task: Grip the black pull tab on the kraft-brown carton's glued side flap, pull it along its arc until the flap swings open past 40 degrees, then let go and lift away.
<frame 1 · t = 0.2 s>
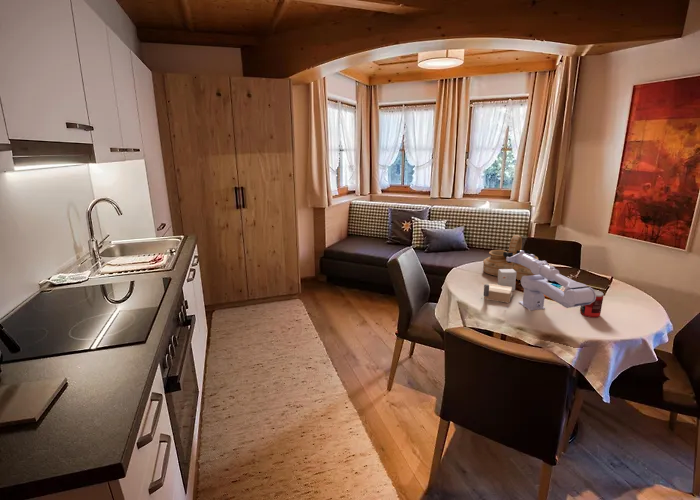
hand: (510, 252, 191), 21 cm above the table, tool horizontal, fingers open, 7 cm apart
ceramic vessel: (511, 275, 219), on the table
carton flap: (496, 293, 181), point 5 cm above the table, hinge at 0.0°
carton: (497, 297, 189), on the table
small box: (505, 288, 200), on the table
canned food: (589, 314, 167), on the table
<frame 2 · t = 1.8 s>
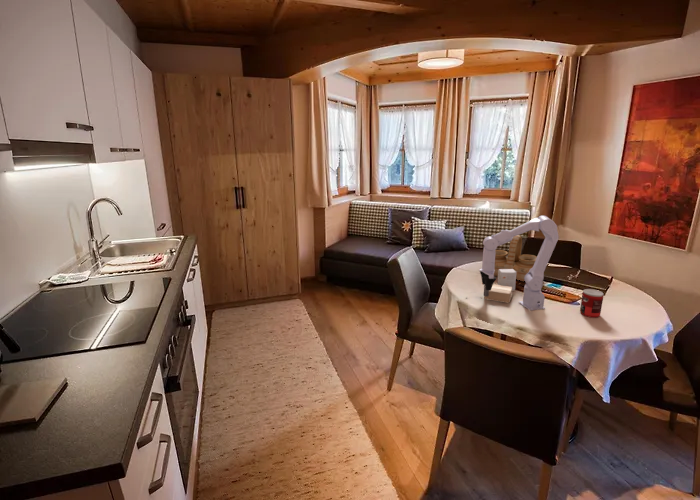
hand: (486, 287, 181), 8 cm above the table, tool pointing down, fingers open, 7 cm apart
nothing on the table moved.
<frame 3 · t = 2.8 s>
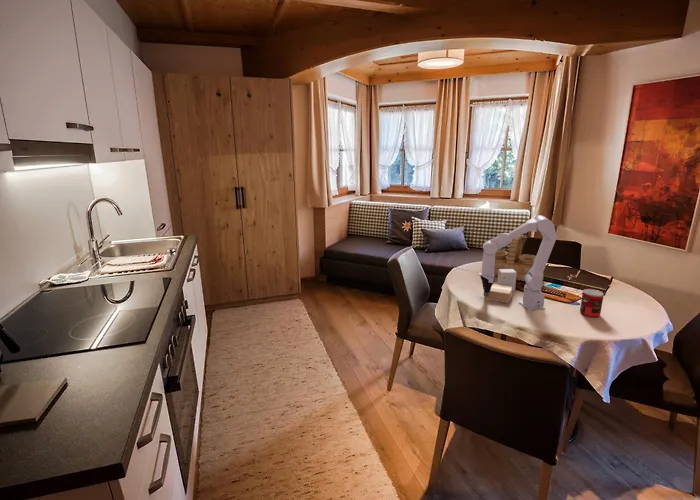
hand: (486, 291, 182), 6 cm above the table, tool pointing down, fingers closed on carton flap, 2 cm apart
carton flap: (496, 293, 181), point 5 cm above the table, hinge at 0.0°, touching gripper
everything else where it was.
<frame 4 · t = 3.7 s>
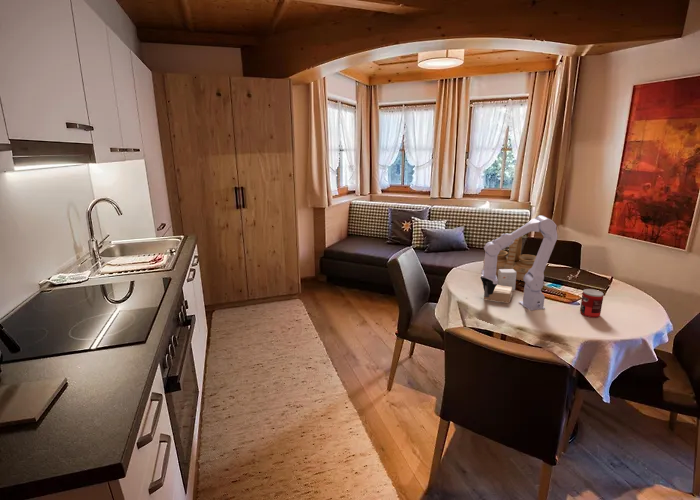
hand: (488, 292, 180), 6 cm above the table, tool pointing down, fingers open, 4 cm apart
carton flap: (496, 294, 181), point 5 cm above the table, hinge at 5.7°, touching gripper
everything else where it was.
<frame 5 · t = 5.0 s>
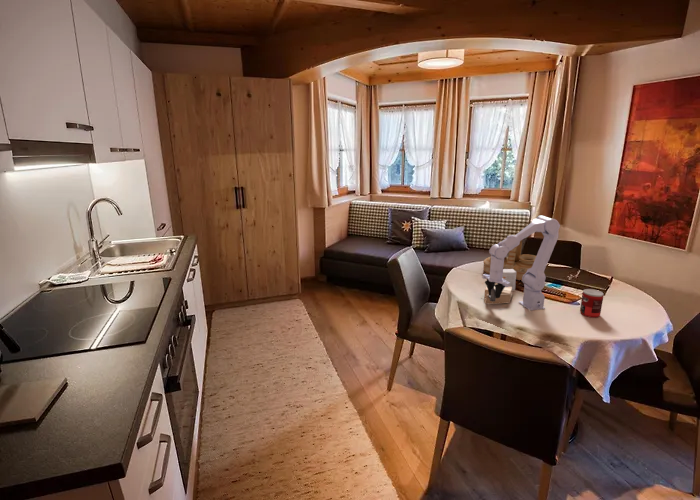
hand: (494, 296, 175), 6 cm above the table, tool pointing down, fingers open, 3 cm apart
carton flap: (500, 296, 178), point 5 cm above the table, hinge at 31.9°, touching gripper
everything else where it was.
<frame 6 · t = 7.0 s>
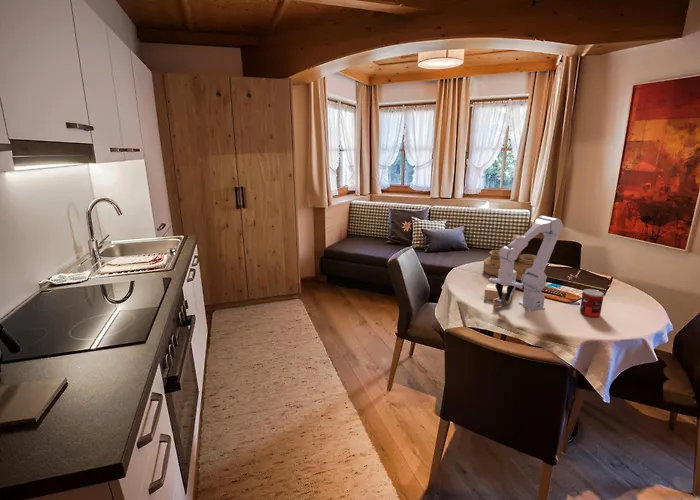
hand: (503, 299, 172), 6 cm above the table, tool pointing down, fingers closed on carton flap, 2 cm apart
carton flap: (507, 298, 175), point 5 cm above the table, hinge at 60.2°, touching gripper
everything else where it was.
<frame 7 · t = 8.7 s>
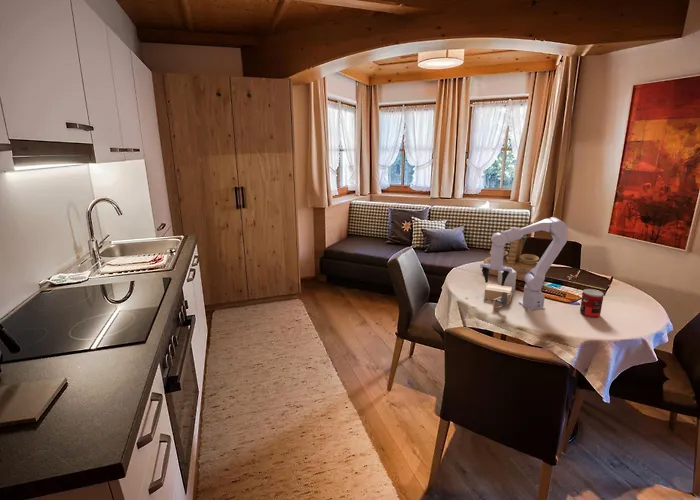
hand: (494, 283, 179), 10 cm above the table, tool pointing down, fingers open, 7 cm apart
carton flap: (507, 298, 175), point 5 cm above the table, hinge at 60.2°
everything else where it was.
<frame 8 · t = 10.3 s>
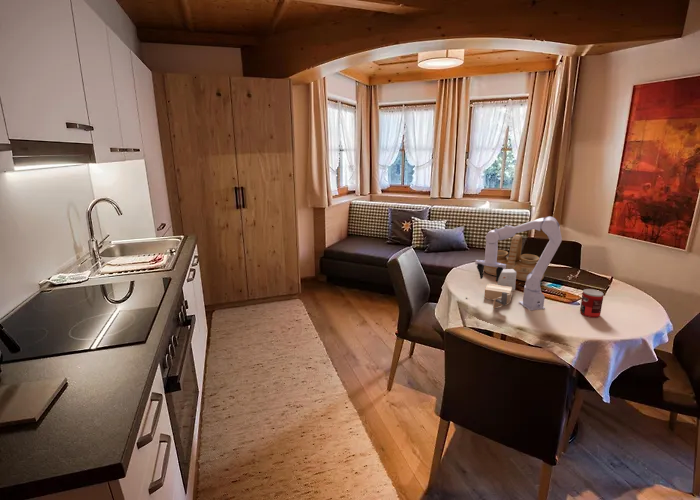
hand: (489, 279, 185), 10 cm above the table, tool pointing down, fingers open, 7 cm apart
nothing on the table moved.
at the end: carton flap at +60° (first picture: +0°); the gripper is holding nothing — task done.
